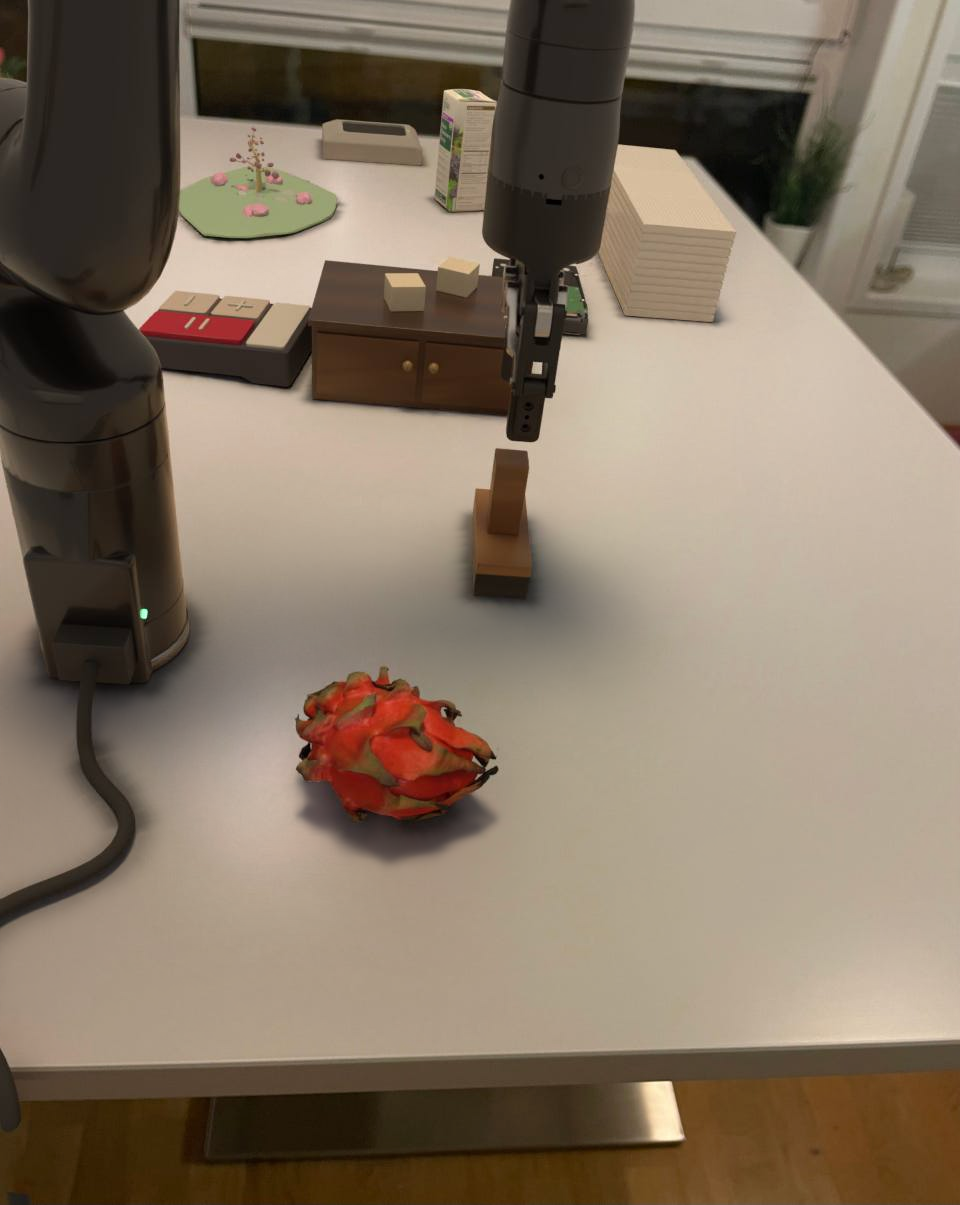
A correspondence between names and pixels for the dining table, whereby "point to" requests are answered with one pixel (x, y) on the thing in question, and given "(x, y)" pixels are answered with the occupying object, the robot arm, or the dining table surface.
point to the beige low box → (371, 142)
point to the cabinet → (407, 343)
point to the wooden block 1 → (404, 292)
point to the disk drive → (575, 303)
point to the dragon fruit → (389, 748)
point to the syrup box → (464, 150)
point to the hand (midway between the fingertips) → (518, 408)
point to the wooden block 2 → (457, 277)
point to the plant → (255, 201)
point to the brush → (502, 529)
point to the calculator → (231, 336)
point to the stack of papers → (663, 237)
